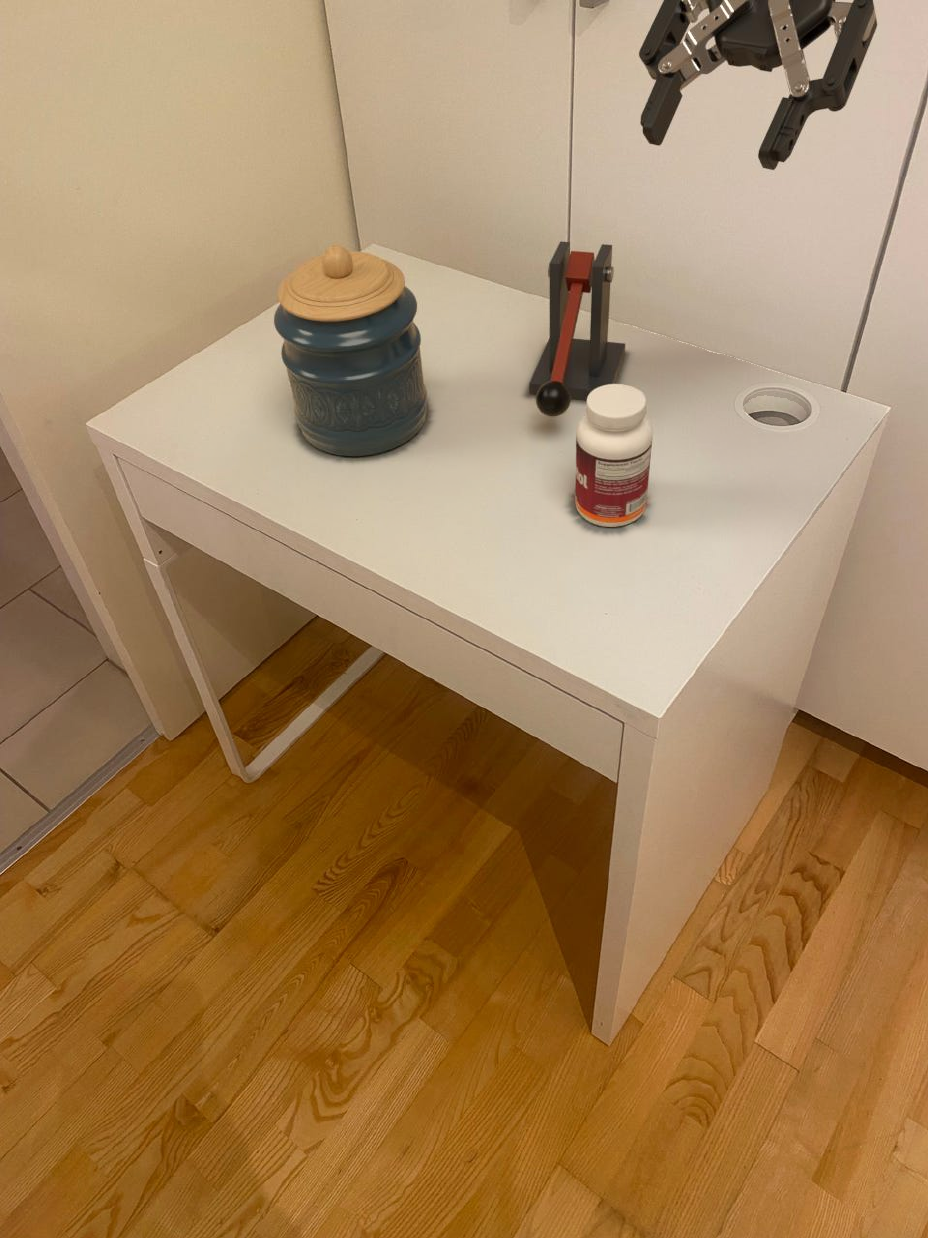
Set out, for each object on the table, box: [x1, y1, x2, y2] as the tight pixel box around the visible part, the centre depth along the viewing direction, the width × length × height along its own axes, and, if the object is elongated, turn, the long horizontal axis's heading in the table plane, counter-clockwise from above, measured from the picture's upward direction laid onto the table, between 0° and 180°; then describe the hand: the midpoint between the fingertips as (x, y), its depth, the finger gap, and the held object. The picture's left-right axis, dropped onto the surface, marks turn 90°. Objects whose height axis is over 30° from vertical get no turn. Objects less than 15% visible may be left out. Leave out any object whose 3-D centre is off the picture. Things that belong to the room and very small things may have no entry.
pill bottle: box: [574, 383, 654, 528], centre depth 79 cm, size 6×6×11 cm
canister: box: [273, 245, 429, 457], centre depth 88 cm, size 13×13×18 cm
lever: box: [535, 250, 596, 418], centre depth 89 cm, size 16×3×3 cm
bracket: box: [528, 241, 627, 401], centre depth 93 cm, size 9×8×13 cm
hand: (705, 151), depth 64 cm, fingers open, 8 cm apart
